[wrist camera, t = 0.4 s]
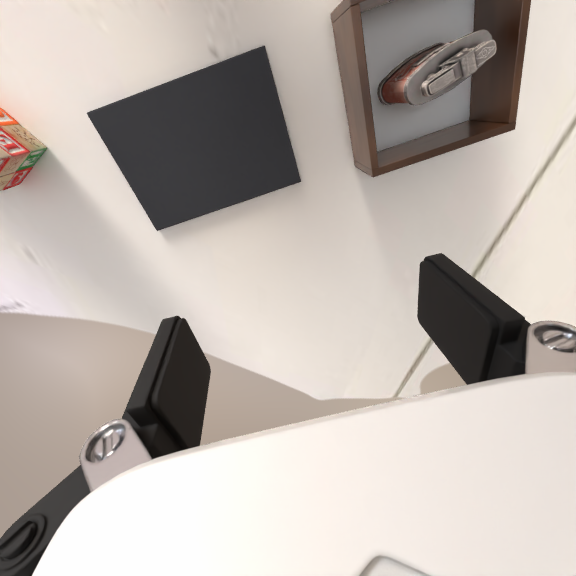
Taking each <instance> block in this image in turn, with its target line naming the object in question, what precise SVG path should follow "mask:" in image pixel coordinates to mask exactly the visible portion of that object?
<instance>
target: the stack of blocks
mask: <svg viewBox="0 0 576 576" xmlns="http://www.w3.org/2000/svg"><path fill="white" fill-rule="evenodd" d="M46 149H47V147H46V146H45V145H44V144H42V143H41V142H40V141H39V140H38V139H36V138H35V137H34V136H33V135H32V134H30V133H29V132H28V131H27V130H26V129H24V128H23V127H22V126H21V125H19V123H18V122H17V121H16V120H15V119H13V118H12V117H11V116H10V115H9V114H7V113H6V112H5V111H4V110H3V109H1V108H0V191H2V190H6V189H8V188H11V187H14V186H16V185H19V184H20V183H21V182H22V181H23V179H24V178H25V177H26V176H27V174H28V173H29V172H30V170H31V169H32V168H33V165H34V164H35V163H36V162H37V161H38V159H39V158H40V157H41V156H42V154H43V153H44V152H45V151H46Z"/></svg>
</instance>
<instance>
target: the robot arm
mask: <svg viewBox="0 0 576 576" xmlns="http://www.w3.org/2000/svg"><path fill="white" fill-rule="evenodd" d="M417 316H418V320H419V323H420V324H421V326H422V327H423V328H424V330H425V331H426V332H427V333H428V335H429V336H430V337H431V339H432V340H433V341H434V343H435V344H436V345H437V346H438V348H439V349H440V350H441V352H442V353H443V354H444V355H445V357H446V358H447V359H448V361H449V362H450V363H451V365H452V366H453V367H454V368H455V370H456V371H457V372H458V374H459V375H460V376H461V377H462V379H463V380H464V381H465V382H466V384H467V385H464V386H459V387H455V388H450V389H445V390H441V391H436V392H431V393H428V394H423V395H418V396H413V397H409V398H404V399H400V400H395V401H391V402H386V403H382V404H378V405H373V406H369V407H364V408H360V409H355V410H351V411H347V412H342V413H338V414H333V415H329V416H325V417H320V418H316V419H311V420H307V421H303V422H298V423H294V424H290V425H285V426H281V427H277V428H272V429H268V430H264V431H260V432H255V433H251V434H247V435H242V436H238V437H234V438H230V439H226V440H221V441H217V442H213V443H209V444H205V445H201V446H200V440H201V434H202V427H203V420H204V414H205V407H206V400H207V393H208V386H209V380H210V373H211V371H210V366H209V363H208V361H207V359H206V357H205V356H204V353H203V351H202V349H201V348H200V346H199V344H198V342H197V340H196V338H195V336H194V334H193V332H192V330H191V329H190V327H189V325H188V323H187V321H186V319H184V318H182V319H181V318H180V317H179V316H175V317H170V318H166V319H163V320H162V322H161V324H160V327H159V329H158V332H157V334H156V337H155V339H154V342H153V344H152V346H151V349H150V351H149V354H148V356H147V359H146V361H145V363H144V365H143V368H142V370H141V373H140V375H139V377H138V380H137V382H136V385H135V387H134V390H133V392H132V394H131V397H130V399H129V402H128V404H127V407H126V409H125V412H124V414H123V416H122V419H115V420H112V421H110V422H107V423H105V424H104V425H102V426H101V427H99V428H98V429H97V430H96V431H95V432H93V433H92V434H91V435H90V437H89V438H88V439H87V440H86V442H85V443H84V445H83V447H82V449H81V452H80V456H79V459H80V464H81V465H80V466H79V467H78V468H77V469H75V470H74V471H73V472H72V473H71V474H70V475H69V476H67V477H66V478H65V479H64V480H63V481H62V482H60V483H59V484H58V485H57V486H56V487H55V488H54V489H52V490H51V491H50V492H49V493H48V494H47V495H46V496H45V497H43V498H42V499H41V500H40V501H39V502H37V503H36V504H35V505H34V506H33V507H32V508H31V509H29V510H28V511H27V512H26V513H25V514H24V515H23V516H21V517H20V518H19V519H18V520H17V521H16V522H15V523H14V524H13V525H12V526H11V527H10V528H9V529H8V530H7V531H6V532H5V533H4V535H3V536H2V537H1V538H0V576H576V327H575V326H572V325H570V324H566V323H562V322H557V321H539V322H536V323H533V324H532V325H531V324H530V323H529V322H527V321H526V320H525V317H523V316H522V315H521V314H520V313H518V312H517V311H516V310H514V309H513V308H512V307H511V306H509V305H508V304H507V303H505V302H504V301H503V300H502V299H500V298H499V297H498V296H496V295H495V294H494V293H493V292H491V291H490V290H489V289H487V288H486V287H485V286H484V285H482V284H481V283H480V282H478V281H477V280H476V279H475V278H473V277H472V276H471V275H469V274H468V273H467V272H466V271H464V270H463V269H462V268H460V267H459V266H458V265H457V264H455V263H454V262H453V261H451V260H450V259H449V258H448V257H446V256H445V255H444V254H442V253H440V254H436V255H431V256H427V257H425V258H424V261H422V262H421V263H420V272H419V293H418V314H417Z"/></svg>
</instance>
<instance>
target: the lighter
mask: <svg viewBox="0 0 576 576" xmlns="http://www.w3.org/2000/svg"><path fill="white" fill-rule="evenodd" d="M495 53H496V42H495V41H494V40H492V36H491V34H490V33H489V32H488V31H487V30H479V31H476V32H473V33H471V34H469V35H466V36H464V37H462V38H460V39H457V40H455V41H452V42H449V43H445V44H444V43H438V44H434V45H432V46H430V47H428V48H425V49H423V50H421V51H419V52H417V53H416V54H414V55H412V56H411V57H409V58H407V59H406V60H405V61H403V62H402V63H401V64H400V65H398V66H397V67H396V68H395V69H393V70H392V71H391V72H390V73H389V74H388V75H387V76H386V77H385V78H384V79H383V80H382V81H381V83H380V84H379V87H378V92H377V94H378V98H379V100H380V102H381V103H383V104H385V105H391V104H394V103H409V104H411V105H421V104H423V103H426V102H428V101H431V100H433V99H435V98H437V97H439V96H441V95H443V94H444V93H446V92H448V91H450V90H451V89H453V88H454V87H456V86H457V85H458V84H460V83H461V82H463V81H464V80H465V79H467V78H468V77H469V76H470V75H472V74H473V73H474V72H476V71H477V69H478V68H479V67H480V66H481V65H483V64H484V63H485V62H486V60H488V59H489V58H491V57H492V56H493V55H494V54H495Z"/></svg>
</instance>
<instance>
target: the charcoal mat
mask: <svg viewBox="0 0 576 576" xmlns="http://www.w3.org/2000/svg"><path fill="white" fill-rule="evenodd" d="M87 115H88V116H89V118H90V120H91V121H92V123H93V125H94V126H95V128H96V130H97V131H98V133H99V135H100V136H101V138H102V140H103V141H104V143H105V145H106V146H107V148H108V150H109V151H110V153H111V155H112V156H113V158H114V160H115V161H116V163H117V165H118V166H119V168H120V170H121V171H122V173H123V175H124V176H125V178H126V180H127V182H128V183H129V185H130V187H131V188H132V190H133V192H134V193H135V195H136V197H137V198H138V200H139V202H140V203H141V205H142V207H143V208H144V210H145V212H146V213H147V215H148V217H149V218H150V220H151V222H152V223H153V225H154V227H155V228H156V230H157V231H158V230H161V229H164V228H167V227H170V226H173V225H176V224H179V223H181V222H184V221H187V220H190V219H193V218H196V217H199V216H202V215H205V214H208V213H211V212H214V211H216V210H219V209H222V208H225V207H228V206H231V205H234V204H237V203H240V202H243V201H246V200H249V199H252V198H254V197H257V196H260V195H263V194H266V193H269V192H272V191H275V190H278V189H281V188H284V187H287V186H289V185H292V184H295V183H298V182H301V180H300V176H299V172H298V168H297V165H296V161H295V157H294V153H293V150H292V146H291V142H290V139H289V135H288V131H287V127H286V124H285V120H284V116H283V112H282V109H281V105H280V101H279V97H278V94H277V90H276V86H275V83H274V79H273V75H272V71H271V68H270V64H269V60H268V56H267V53H266V49H265V46H262V47H259V48H256V49H254V50H251V51H248V52H246V53H243V54H241V55H238V56H235V57H233V58H230V59H227V60H225V61H222V62H219V63H217V64H214V65H212V66H209V67H206V68H204V69H201V70H198V71H196V72H193V73H190V74H188V75H185V76H183V77H180V78H177V79H175V80H172V81H169V82H167V83H164V84H162V85H159V86H156V87H154V88H151V89H148V90H146V91H143V92H140V93H138V94H135V95H133V96H130V97H127V98H125V99H122V100H119V101H117V102H114V103H111V104H109V105H106V106H104V107H101V108H98V109H96V110H93V111H90V112H88V113H87Z"/></svg>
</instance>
